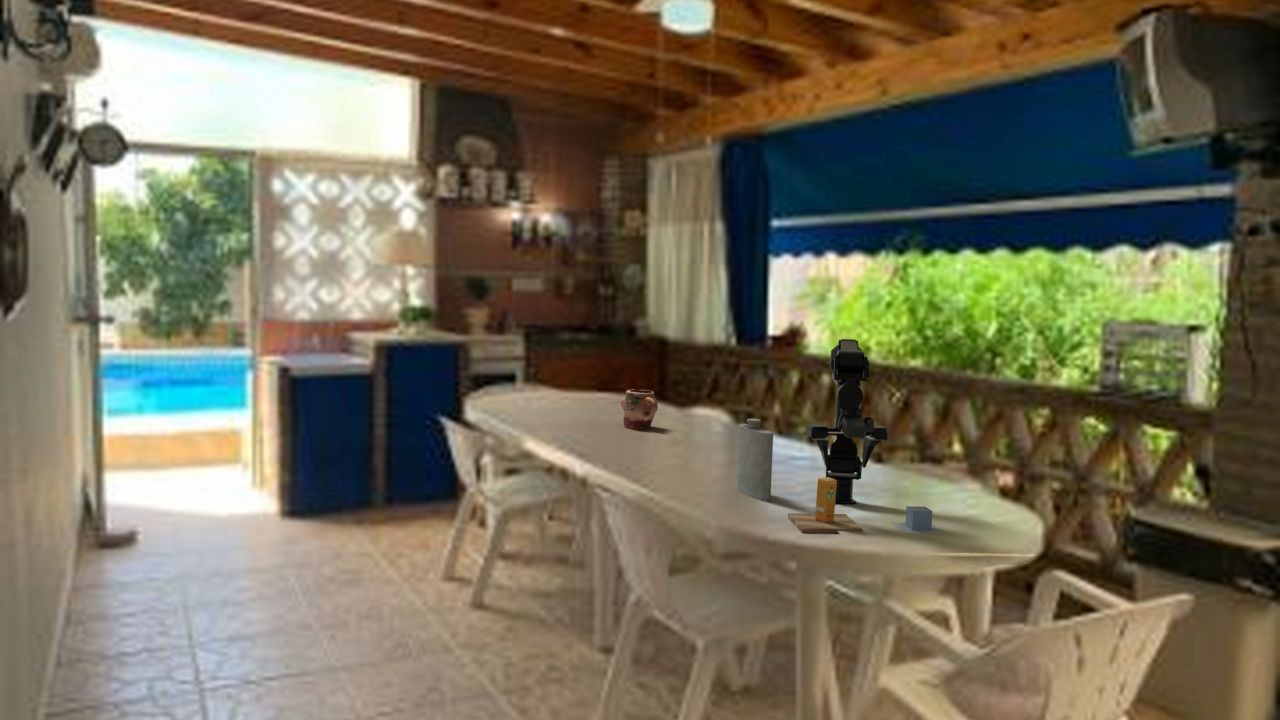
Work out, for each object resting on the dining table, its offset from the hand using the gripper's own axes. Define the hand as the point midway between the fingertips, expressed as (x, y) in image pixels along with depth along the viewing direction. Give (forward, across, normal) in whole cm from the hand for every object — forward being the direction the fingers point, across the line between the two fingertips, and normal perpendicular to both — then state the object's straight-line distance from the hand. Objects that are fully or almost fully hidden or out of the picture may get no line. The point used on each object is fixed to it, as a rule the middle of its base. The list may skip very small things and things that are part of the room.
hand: (845, 467), depth 243 cm
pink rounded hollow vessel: (+12, -39, +131) cm, 137 cm away
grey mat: (+12, +14, -13) cm, 23 cm away
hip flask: (+12, -18, +23) cm, 32 cm away
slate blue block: (+11, +14, -13) cm, 22 cm away
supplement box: (+11, -7, -9) cm, 16 cm away
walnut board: (+12, -7, -9) cm, 17 cm away
